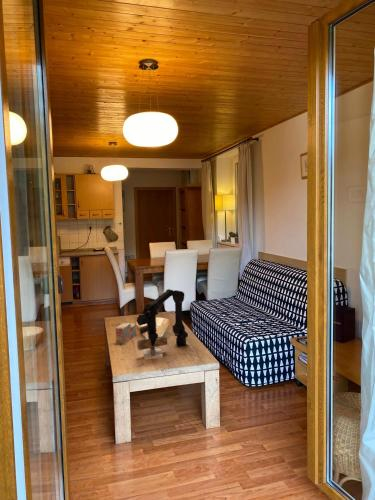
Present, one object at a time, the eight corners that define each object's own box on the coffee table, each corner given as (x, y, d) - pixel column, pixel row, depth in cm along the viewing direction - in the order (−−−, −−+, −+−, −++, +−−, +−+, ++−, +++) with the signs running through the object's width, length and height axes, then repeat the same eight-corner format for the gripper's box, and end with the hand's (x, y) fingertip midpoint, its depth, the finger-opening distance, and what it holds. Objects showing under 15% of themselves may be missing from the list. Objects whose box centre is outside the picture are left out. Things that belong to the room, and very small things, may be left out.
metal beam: (164, 342, 271) (164, 335, 271) (167, 344, 268) (167, 337, 267) (137, 348, 262) (137, 340, 262) (139, 350, 259) (139, 342, 258)
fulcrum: (160, 350, 273) (160, 342, 273) (162, 358, 260) (162, 349, 259) (143, 351, 271) (142, 344, 271) (144, 359, 258) (144, 351, 257)
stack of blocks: (129, 334, 309) (128, 319, 308) (136, 335, 307) (136, 320, 306) (116, 344, 289) (115, 327, 288) (123, 344, 287) (123, 328, 286)
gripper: (138, 318, 271) (139, 340, 273) (140, 327, 253) (141, 350, 254) (155, 317, 273) (155, 339, 274) (157, 325, 254) (158, 349, 256)
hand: (152, 344), depth 265 cm, fingers closed on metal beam, 5 cm apart
